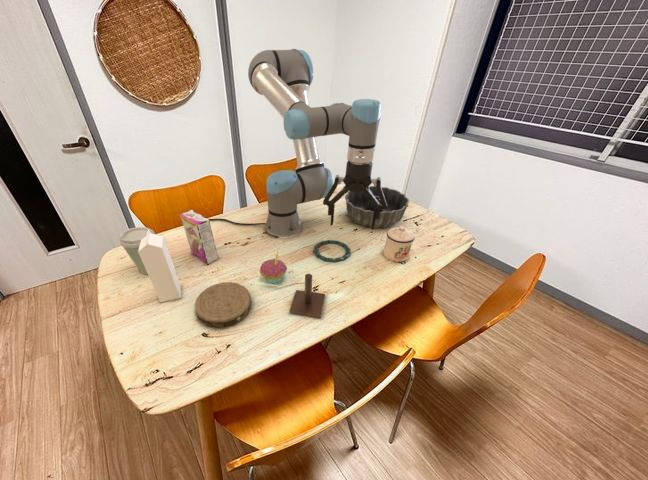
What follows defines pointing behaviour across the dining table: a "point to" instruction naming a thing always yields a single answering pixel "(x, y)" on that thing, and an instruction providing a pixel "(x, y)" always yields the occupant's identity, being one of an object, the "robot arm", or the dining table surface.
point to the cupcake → (273, 270)
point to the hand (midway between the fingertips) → (351, 225)
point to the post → (308, 301)
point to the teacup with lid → (398, 244)
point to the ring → (331, 258)
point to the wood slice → (223, 305)
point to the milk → (159, 267)
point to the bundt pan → (364, 208)
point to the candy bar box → (199, 236)
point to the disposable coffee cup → (134, 244)
